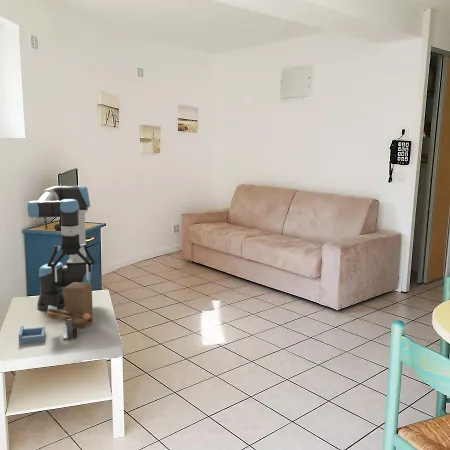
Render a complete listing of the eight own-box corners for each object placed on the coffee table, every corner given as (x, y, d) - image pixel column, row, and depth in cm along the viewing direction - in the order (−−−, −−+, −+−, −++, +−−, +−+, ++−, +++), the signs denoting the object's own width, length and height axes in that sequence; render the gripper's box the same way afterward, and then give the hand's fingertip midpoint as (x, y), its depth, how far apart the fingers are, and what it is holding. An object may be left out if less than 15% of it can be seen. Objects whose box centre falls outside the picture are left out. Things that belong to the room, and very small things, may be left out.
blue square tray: (21, 335, 219) (20, 325, 218) (45, 332, 222) (44, 323, 221) (19, 344, 209) (18, 334, 208) (44, 341, 212) (43, 332, 211)
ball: (82, 319, 223) (82, 312, 222) (90, 319, 224) (90, 312, 223) (82, 322, 219) (82, 314, 219) (90, 322, 220) (91, 314, 220)
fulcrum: (63, 340, 214) (62, 321, 213) (63, 330, 225) (62, 312, 223) (77, 338, 216) (76, 319, 215) (76, 329, 226) (76, 311, 225)
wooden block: (83, 329, 227) (82, 289, 223) (64, 327, 229) (63, 287, 225) (93, 321, 237) (92, 282, 233) (75, 319, 239) (73, 281, 235)
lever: (46, 317, 212) (49, 310, 212) (47, 307, 225) (50, 300, 225) (90, 326, 219) (93, 319, 219) (89, 316, 232) (92, 309, 232)
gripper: (39, 237, 203) (42, 284, 208) (99, 234, 211) (101, 280, 216) (40, 233, 210) (42, 279, 215) (98, 231, 218) (99, 275, 223)
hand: (72, 280), depth 215 cm, fingers open, 13 cm apart
